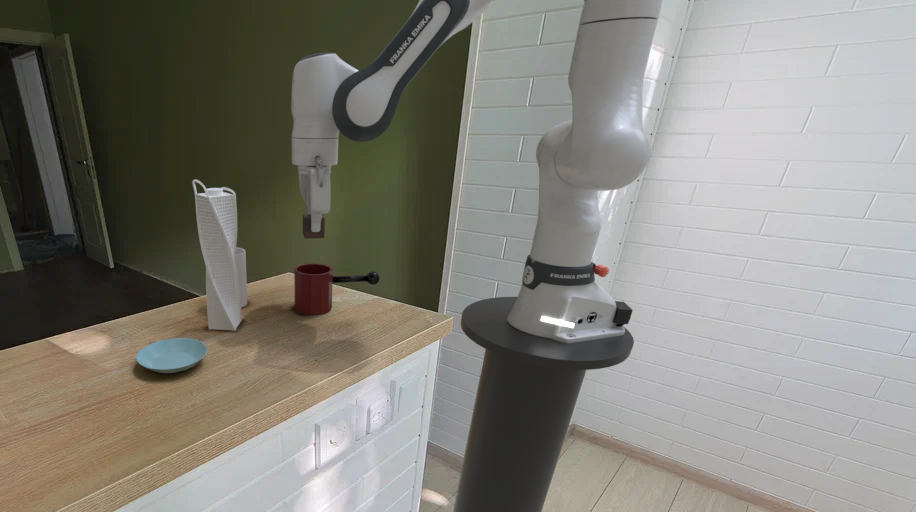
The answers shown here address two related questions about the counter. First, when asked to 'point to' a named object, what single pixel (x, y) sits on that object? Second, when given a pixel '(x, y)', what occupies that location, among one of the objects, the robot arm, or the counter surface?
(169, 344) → the saucer
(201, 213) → the skyscraper
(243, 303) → the mug
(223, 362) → the counter surface
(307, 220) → the block
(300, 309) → the pot
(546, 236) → the robot arm
